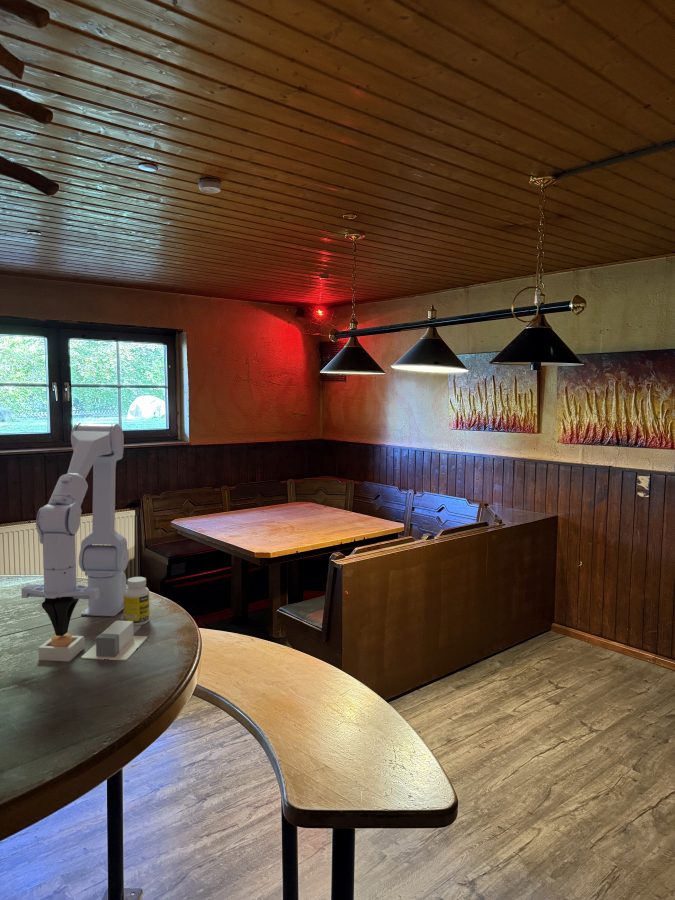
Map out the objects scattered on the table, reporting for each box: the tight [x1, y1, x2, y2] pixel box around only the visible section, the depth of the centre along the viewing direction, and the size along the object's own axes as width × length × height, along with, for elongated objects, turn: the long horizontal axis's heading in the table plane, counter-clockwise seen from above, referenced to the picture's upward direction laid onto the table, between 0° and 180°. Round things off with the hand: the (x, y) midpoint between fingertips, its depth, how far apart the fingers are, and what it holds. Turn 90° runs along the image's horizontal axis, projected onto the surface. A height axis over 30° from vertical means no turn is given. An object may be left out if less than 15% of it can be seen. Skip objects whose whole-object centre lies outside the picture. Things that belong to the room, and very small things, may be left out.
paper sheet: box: [80, 635, 149, 661], centre depth 121 cm, size 11×9×1 cm
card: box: [133, 625, 141, 635], centre depth 130 cm, size 4×6×1 cm, turn 87°
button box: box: [37, 635, 85, 662], centre depth 118 cm, size 6×6×2 cm
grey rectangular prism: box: [95, 619, 134, 657], centre depth 121 cm, size 9×4×4 cm, turn 176°
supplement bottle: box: [123, 576, 150, 626], centre depth 134 cm, size 5×5×10 cm
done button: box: [50, 632, 73, 647], centre depth 118 cm, size 4×4×3 cm
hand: (61, 633), depth 118 cm, fingers closed
